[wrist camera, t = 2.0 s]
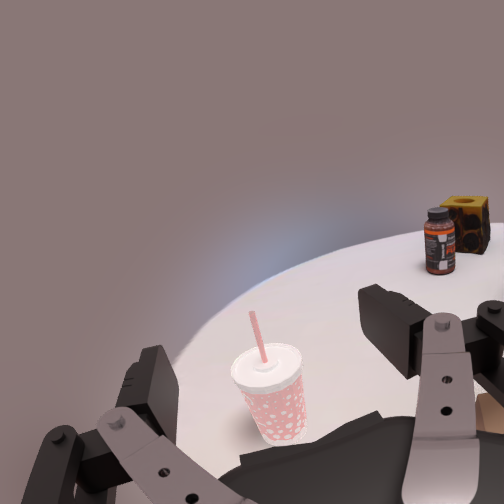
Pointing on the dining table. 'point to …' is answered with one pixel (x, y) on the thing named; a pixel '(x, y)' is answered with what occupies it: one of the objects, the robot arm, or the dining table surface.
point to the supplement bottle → (439, 241)
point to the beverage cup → (272, 389)
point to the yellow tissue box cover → (469, 222)
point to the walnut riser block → (489, 414)
